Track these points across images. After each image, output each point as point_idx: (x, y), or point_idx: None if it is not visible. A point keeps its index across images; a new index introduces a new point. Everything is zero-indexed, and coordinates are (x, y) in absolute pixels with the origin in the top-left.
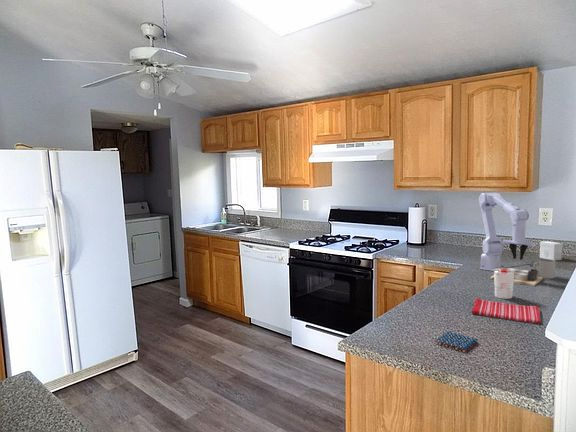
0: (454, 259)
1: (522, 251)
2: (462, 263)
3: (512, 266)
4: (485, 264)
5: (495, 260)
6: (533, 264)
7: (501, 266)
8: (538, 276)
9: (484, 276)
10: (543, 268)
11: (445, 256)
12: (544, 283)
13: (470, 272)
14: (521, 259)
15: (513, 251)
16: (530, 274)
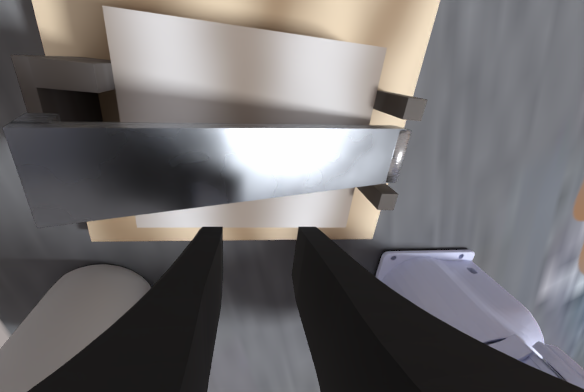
0: (554, 344)
1: (119, 347)
2: (535, 305)
3: (296, 127)
4: (468, 279)
5: (437, 314)
6: None
7: (392, 191)
8: (121, 238)
9: (462, 80)
10: (75, 320)
11: (577, 362)
12: (22, 112)
13: (535, 145)
14: (201, 229)
15: (372, 306)
16: (80, 59)
